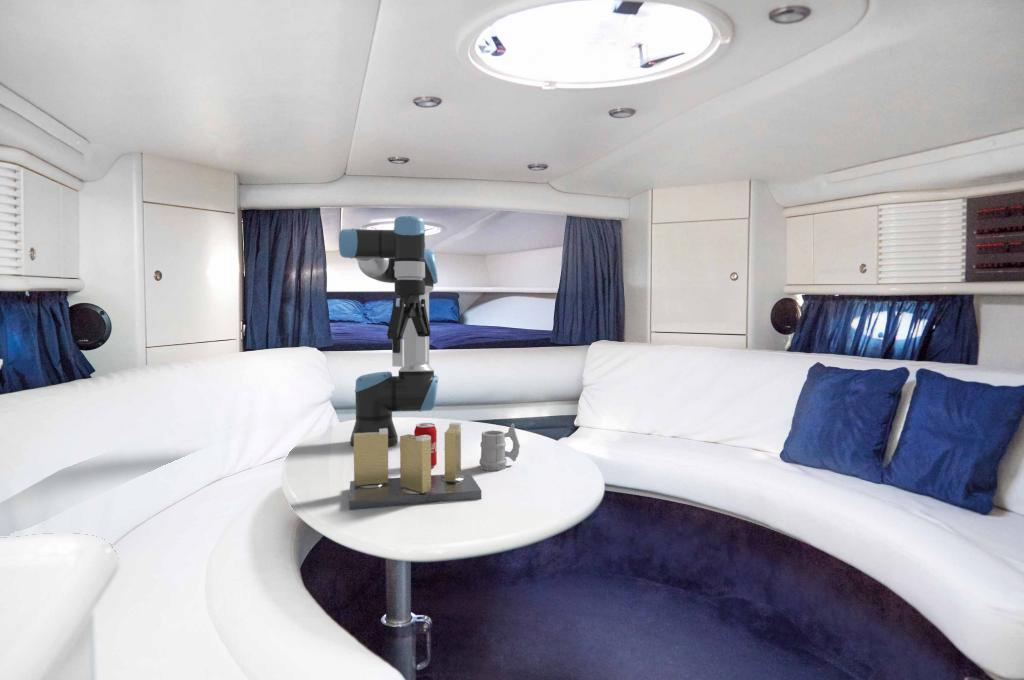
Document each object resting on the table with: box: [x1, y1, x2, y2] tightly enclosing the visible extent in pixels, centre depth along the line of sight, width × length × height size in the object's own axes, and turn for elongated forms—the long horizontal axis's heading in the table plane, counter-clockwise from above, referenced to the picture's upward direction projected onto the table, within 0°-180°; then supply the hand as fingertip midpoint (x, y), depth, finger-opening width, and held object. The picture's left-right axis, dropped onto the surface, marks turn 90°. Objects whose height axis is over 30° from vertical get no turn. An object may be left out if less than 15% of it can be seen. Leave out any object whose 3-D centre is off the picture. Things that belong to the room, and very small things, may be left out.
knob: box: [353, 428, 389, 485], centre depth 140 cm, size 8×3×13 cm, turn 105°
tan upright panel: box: [444, 422, 462, 481], centre depth 145 cm, size 8×3×13 cm, turn 175°
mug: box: [479, 423, 521, 472], centre depth 163 cm, size 8×12×12 cm, turn 112°
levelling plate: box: [348, 472, 482, 511], centre depth 140 cm, size 15×30×2 cm, turn 105°
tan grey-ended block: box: [399, 434, 432, 493], centre depth 136 cm, size 8×3×13 cm, turn 49°
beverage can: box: [413, 422, 438, 469], centre depth 163 cm, size 6×6×12 cm
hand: (410, 363), depth 146 cm, fingers open, 13 cm apart
